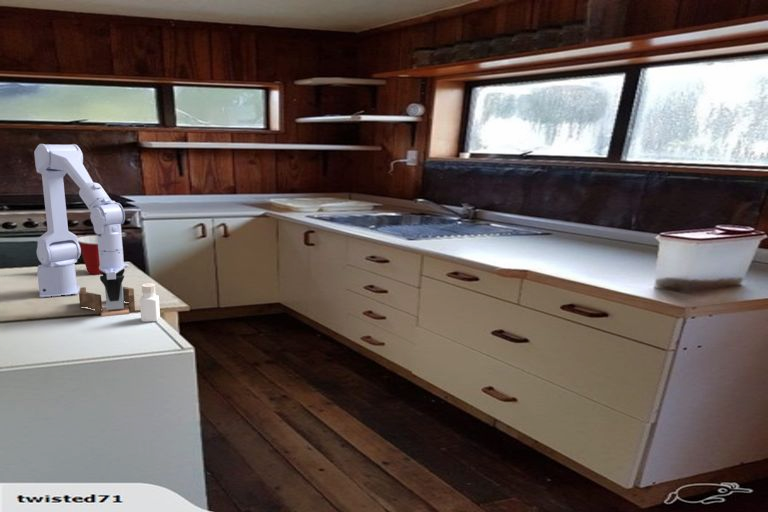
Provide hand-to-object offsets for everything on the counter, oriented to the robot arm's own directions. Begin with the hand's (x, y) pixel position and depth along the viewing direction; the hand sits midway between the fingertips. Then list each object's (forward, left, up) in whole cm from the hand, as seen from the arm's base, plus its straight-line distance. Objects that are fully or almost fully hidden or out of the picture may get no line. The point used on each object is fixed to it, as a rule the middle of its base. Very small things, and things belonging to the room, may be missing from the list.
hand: (114, 298), depth 139 cm
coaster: (0, 0, -4) cm, 4 cm away
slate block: (0, 0, -2) cm, 2 cm away
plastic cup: (-7, +43, -4) cm, 44 cm away
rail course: (-2, +5, -4) cm, 6 cm away
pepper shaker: (+8, -10, -4) cm, 14 cm away
